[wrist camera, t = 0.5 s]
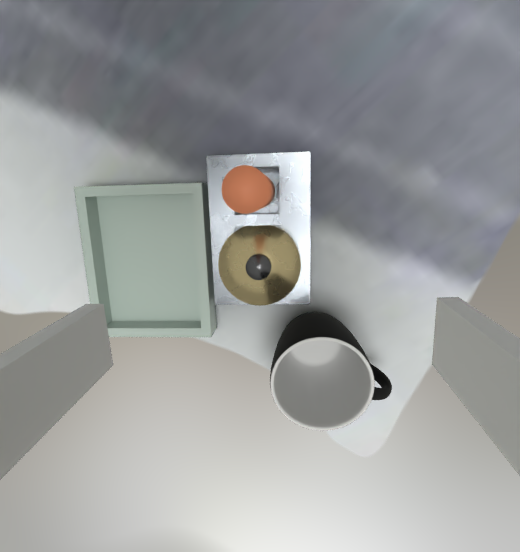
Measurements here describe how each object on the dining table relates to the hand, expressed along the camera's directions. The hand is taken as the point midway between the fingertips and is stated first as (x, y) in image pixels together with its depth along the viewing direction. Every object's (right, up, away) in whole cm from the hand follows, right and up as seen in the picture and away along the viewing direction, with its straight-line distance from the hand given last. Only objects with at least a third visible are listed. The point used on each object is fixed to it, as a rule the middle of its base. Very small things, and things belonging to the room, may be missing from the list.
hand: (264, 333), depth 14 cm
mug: (+7, -5, +27) cm, 28 cm away
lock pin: (0, +10, +21) cm, 23 cm away
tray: (-12, +4, +26) cm, 29 cm away
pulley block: (0, +7, +24) cm, 25 cm away
